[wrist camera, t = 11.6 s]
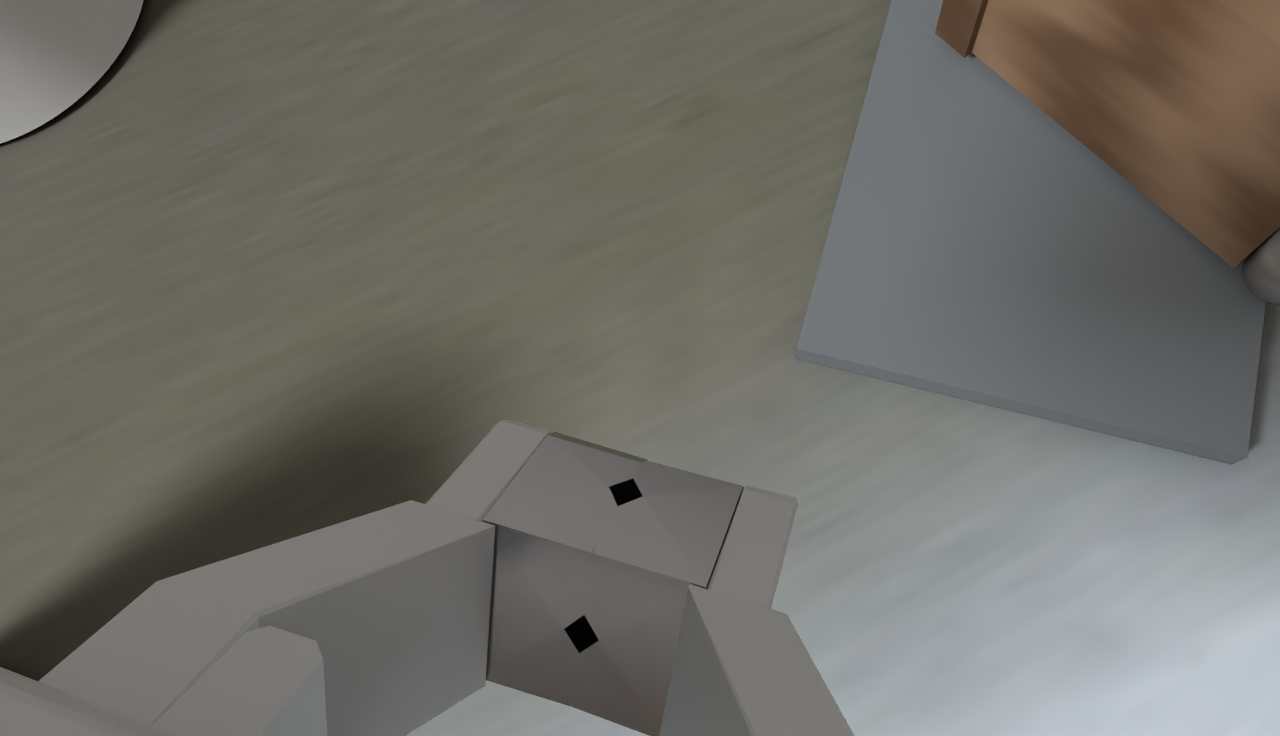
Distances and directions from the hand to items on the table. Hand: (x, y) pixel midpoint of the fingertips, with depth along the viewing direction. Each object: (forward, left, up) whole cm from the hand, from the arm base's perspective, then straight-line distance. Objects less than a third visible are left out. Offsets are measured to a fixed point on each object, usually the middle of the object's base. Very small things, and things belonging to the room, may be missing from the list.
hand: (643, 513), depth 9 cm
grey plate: (+7, +21, -21) cm, 30 cm away
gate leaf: (+8, +19, -20) cm, 29 cm away
